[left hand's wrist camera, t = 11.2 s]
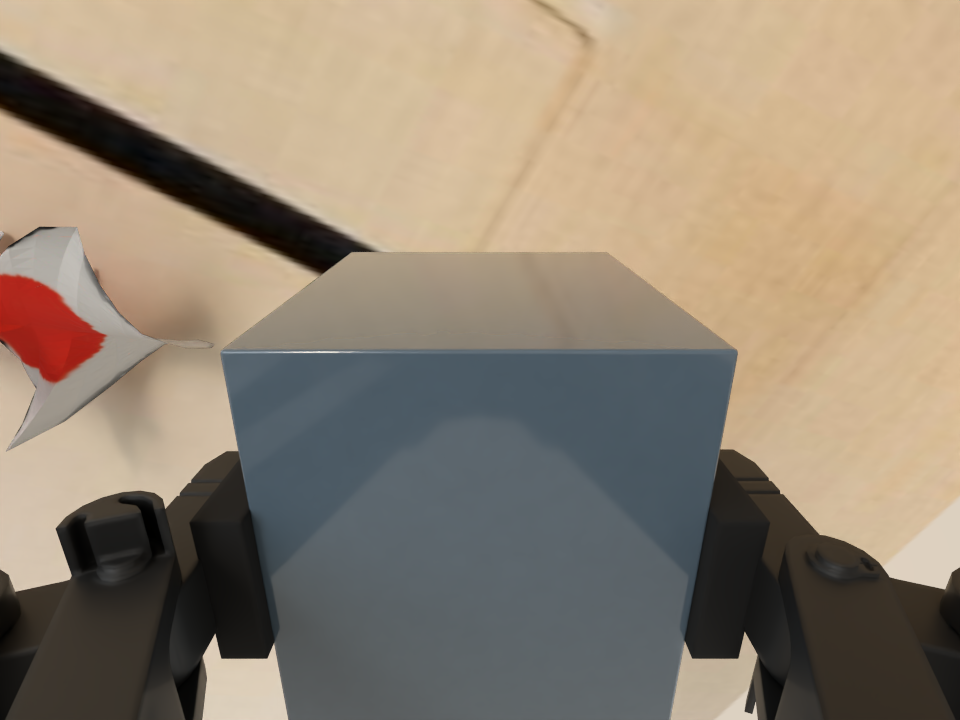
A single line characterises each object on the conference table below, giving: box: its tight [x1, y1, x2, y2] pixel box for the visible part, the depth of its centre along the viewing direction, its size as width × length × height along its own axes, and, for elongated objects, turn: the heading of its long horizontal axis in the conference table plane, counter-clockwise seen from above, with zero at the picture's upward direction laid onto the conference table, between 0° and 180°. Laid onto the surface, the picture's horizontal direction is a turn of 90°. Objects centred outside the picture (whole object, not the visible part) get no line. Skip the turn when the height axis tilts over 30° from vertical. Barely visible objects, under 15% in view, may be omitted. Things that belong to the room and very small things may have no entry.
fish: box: [0, 227, 214, 451], centre depth 23 cm, size 11×16×10 cm
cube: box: [221, 252, 738, 720], centre depth 12 cm, size 7×8×8 cm
